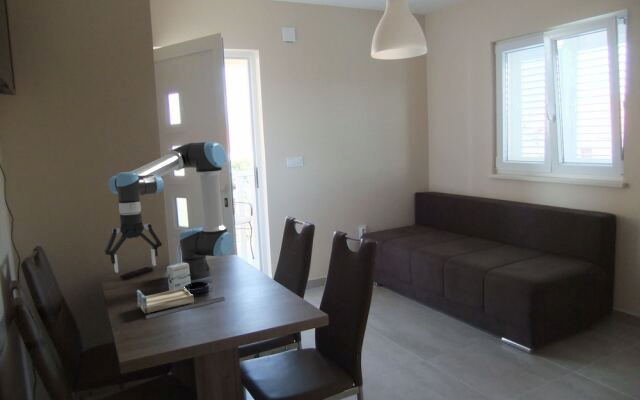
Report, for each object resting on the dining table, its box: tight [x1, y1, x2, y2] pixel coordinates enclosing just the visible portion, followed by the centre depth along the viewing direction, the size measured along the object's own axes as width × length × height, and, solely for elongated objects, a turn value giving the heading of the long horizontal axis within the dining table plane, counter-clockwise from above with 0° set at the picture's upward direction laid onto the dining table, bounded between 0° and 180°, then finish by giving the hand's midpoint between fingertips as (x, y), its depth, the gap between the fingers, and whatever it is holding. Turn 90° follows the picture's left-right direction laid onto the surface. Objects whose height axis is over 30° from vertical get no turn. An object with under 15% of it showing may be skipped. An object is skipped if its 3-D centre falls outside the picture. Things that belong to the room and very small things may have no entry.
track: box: [136, 287, 225, 319], centre depth 188 cm, size 16×31×1 cm, turn 123°
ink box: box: [166, 262, 192, 291], centre depth 204 cm, size 9×5×12 cm, turn 134°
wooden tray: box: [136, 288, 195, 315], centre depth 185 cm, size 12×19×7 cm, turn 123°
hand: (135, 268), depth 176 cm, fingers open, 13 cm apart
